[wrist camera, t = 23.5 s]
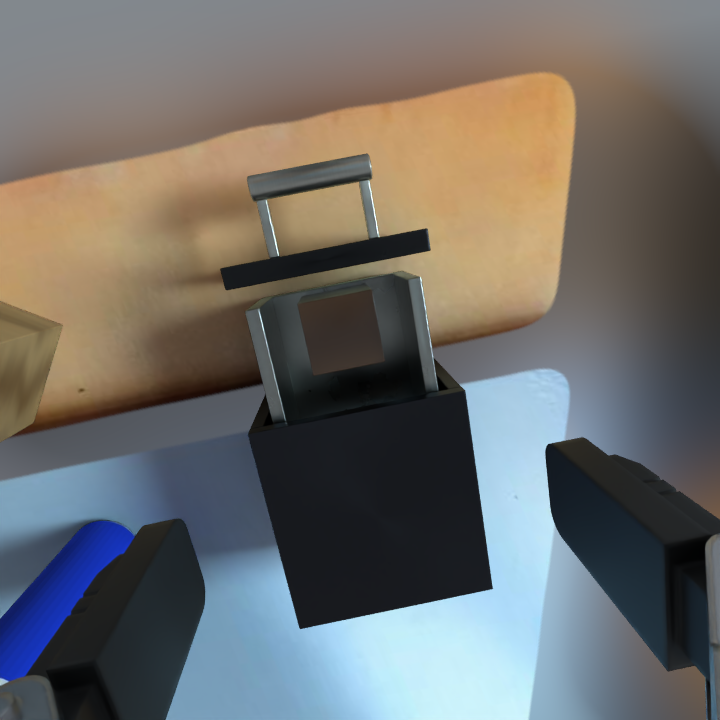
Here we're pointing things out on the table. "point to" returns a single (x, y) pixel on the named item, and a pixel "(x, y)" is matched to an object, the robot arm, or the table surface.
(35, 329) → the stand
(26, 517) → the table surface
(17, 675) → the beverage can
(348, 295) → the block
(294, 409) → the drawer
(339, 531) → the black drawer cabinet
